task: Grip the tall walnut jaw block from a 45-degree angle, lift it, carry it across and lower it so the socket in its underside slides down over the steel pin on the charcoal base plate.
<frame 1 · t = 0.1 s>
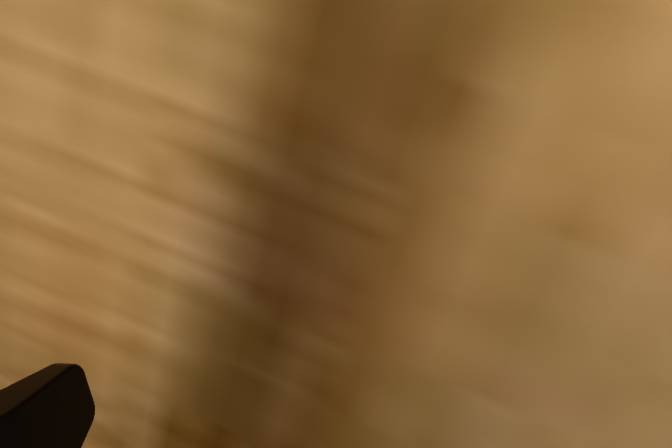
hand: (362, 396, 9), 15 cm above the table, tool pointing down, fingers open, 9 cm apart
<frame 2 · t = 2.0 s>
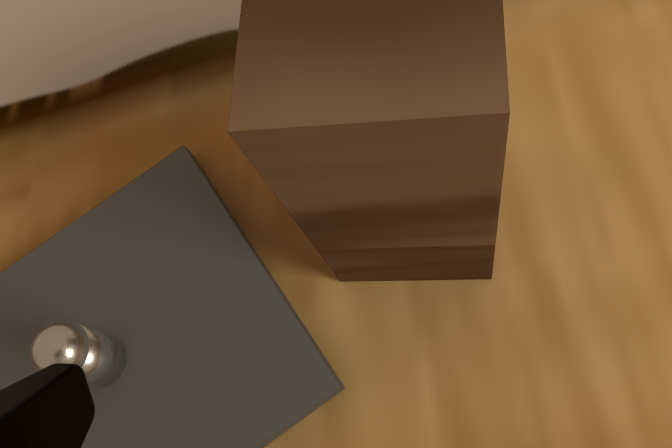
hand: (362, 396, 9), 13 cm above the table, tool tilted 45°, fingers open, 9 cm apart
charcoal base plate: (116, 364, 25), on the table
walnut jaw block: (413, 210, 24), on the table
steel pin: (75, 353, 22), on the charcoal base plate, point 3 cm above the table
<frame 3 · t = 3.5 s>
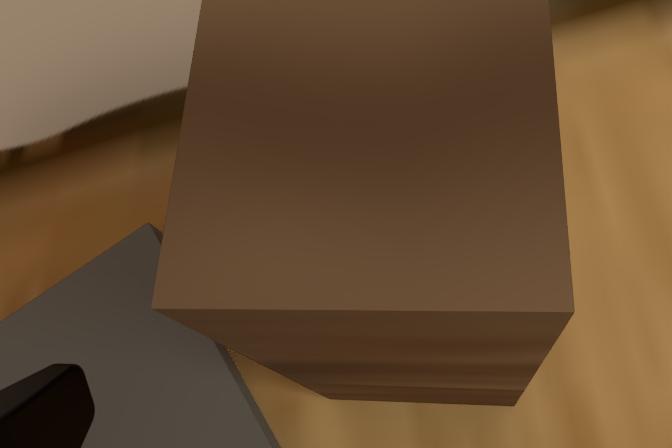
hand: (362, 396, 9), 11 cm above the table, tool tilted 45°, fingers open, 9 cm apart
walnut jaw block: (419, 312, 20), on the table
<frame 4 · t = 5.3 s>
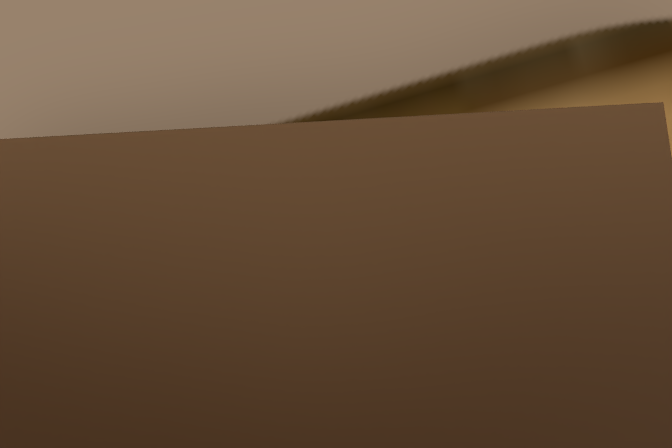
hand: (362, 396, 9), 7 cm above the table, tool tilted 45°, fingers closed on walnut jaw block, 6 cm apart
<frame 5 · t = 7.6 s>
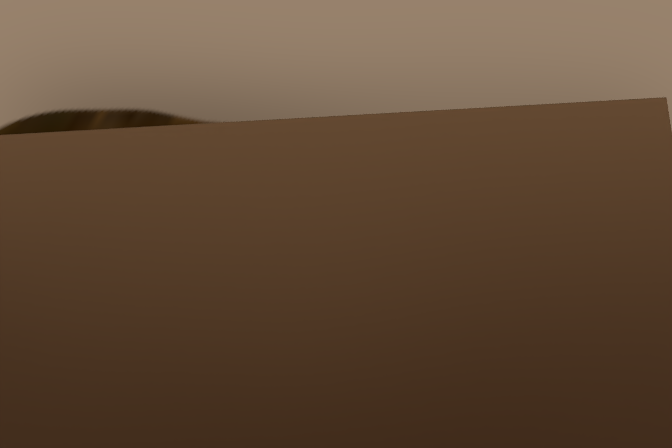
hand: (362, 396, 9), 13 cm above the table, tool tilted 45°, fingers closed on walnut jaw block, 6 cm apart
when the fingers open (9 cm above the table, at t = 9.8 s): walnut jaw block drops 1 cm, resting on charcoal base plate.
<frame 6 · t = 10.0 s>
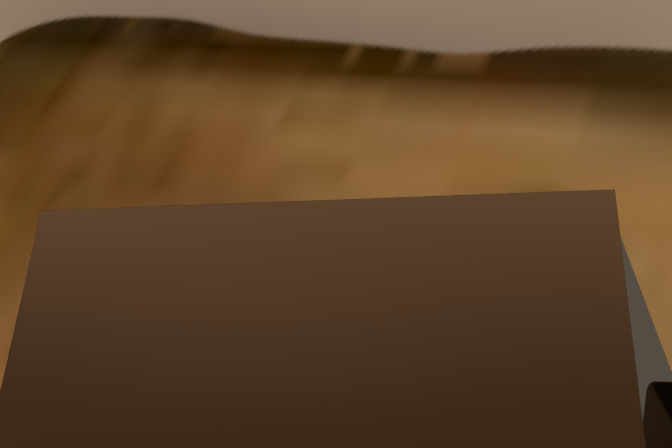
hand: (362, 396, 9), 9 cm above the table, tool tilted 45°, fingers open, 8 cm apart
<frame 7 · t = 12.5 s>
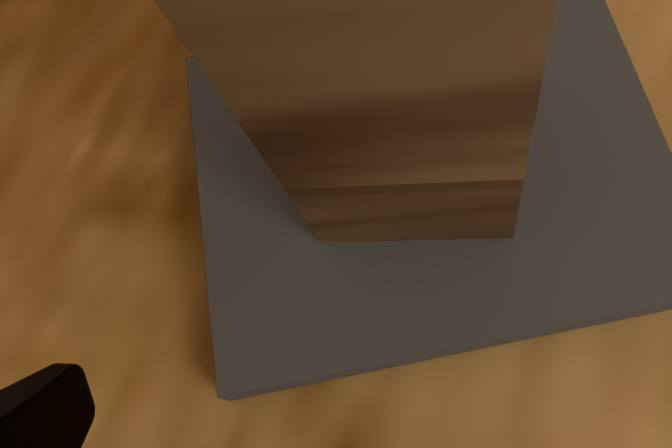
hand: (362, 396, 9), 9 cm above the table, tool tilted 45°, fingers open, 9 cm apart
charcoal base plate: (415, 168, 20), on the table
walnut jaw block: (414, 154, 19), point 1 cm above the table, touching charcoal base plate
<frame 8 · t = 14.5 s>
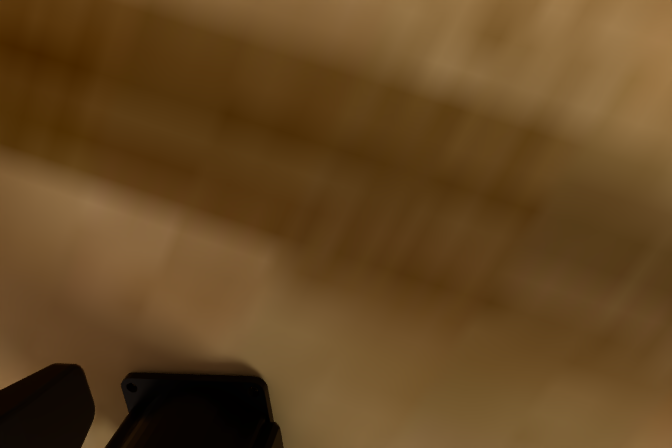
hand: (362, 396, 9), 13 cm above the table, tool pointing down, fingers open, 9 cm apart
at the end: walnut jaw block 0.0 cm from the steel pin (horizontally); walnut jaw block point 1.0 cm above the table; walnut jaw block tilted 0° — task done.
